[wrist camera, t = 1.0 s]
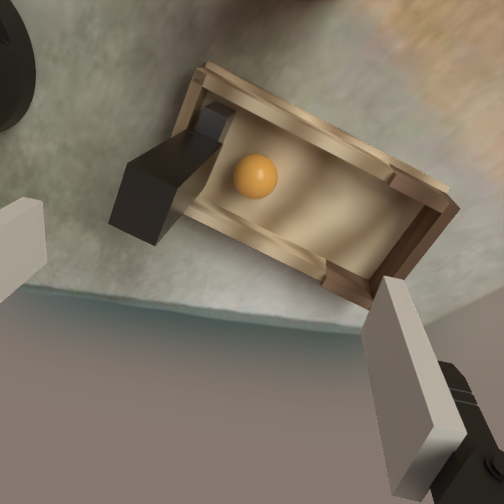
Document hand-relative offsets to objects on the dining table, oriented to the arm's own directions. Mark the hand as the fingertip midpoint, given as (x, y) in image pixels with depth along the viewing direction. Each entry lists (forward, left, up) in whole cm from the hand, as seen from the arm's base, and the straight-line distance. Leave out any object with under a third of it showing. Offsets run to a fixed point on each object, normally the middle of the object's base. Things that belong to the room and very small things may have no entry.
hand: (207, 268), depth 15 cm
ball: (0, -3, -22) cm, 22 cm away
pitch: (+4, -3, -25) cm, 25 cm away
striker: (-5, -3, -23) cm, 24 cm away
